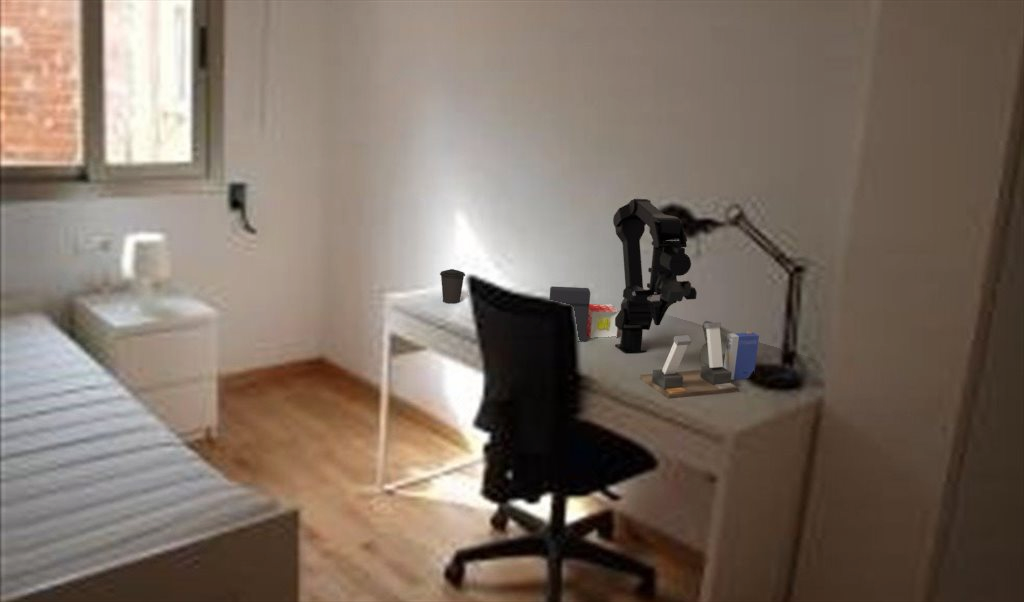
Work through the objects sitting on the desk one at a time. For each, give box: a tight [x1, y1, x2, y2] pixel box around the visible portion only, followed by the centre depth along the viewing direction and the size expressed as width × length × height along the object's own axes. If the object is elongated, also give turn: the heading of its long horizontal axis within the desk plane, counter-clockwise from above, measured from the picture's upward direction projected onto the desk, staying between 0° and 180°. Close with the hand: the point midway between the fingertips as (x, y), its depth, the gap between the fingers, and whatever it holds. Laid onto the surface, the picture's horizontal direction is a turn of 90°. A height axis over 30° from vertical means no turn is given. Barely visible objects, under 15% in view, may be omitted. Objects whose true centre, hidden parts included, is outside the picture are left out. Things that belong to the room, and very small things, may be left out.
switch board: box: [639, 365, 740, 399], centre depth 238 cm, size 14×20×4 cm
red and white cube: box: [587, 303, 620, 339], centre depth 276 cm, size 8×8×8 cm
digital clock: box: [700, 320, 735, 368], centre depth 254 cm, size 16×9×11 cm, turn 12°
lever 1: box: [662, 334, 692, 374], centre depth 230 cm, size 2×4×11 cm, turn 113°
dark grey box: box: [548, 285, 591, 343], centre depth 268 cm, size 11×4×15 cm, turn 92°
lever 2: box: [703, 321, 723, 368], centre depth 240 cm, size 2×4×11 cm, turn 111°
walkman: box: [724, 331, 760, 380], centre depth 245 cm, size 8×3×12 cm, turn 107°
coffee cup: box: [439, 268, 466, 305], centre depth 300 cm, size 8×8×10 cm
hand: (657, 324), depth 246 cm, fingers closed
